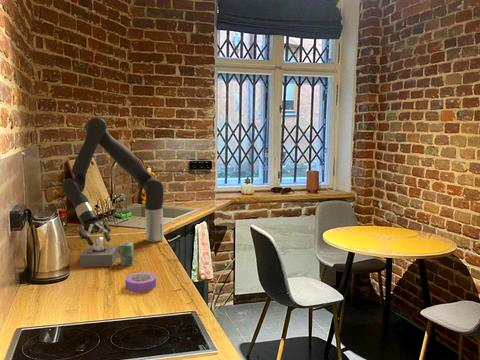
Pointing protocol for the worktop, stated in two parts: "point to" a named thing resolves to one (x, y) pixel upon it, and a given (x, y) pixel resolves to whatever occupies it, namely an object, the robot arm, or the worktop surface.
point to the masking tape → (140, 282)
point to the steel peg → (99, 244)
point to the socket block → (99, 256)
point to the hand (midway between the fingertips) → (100, 242)
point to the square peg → (126, 253)
